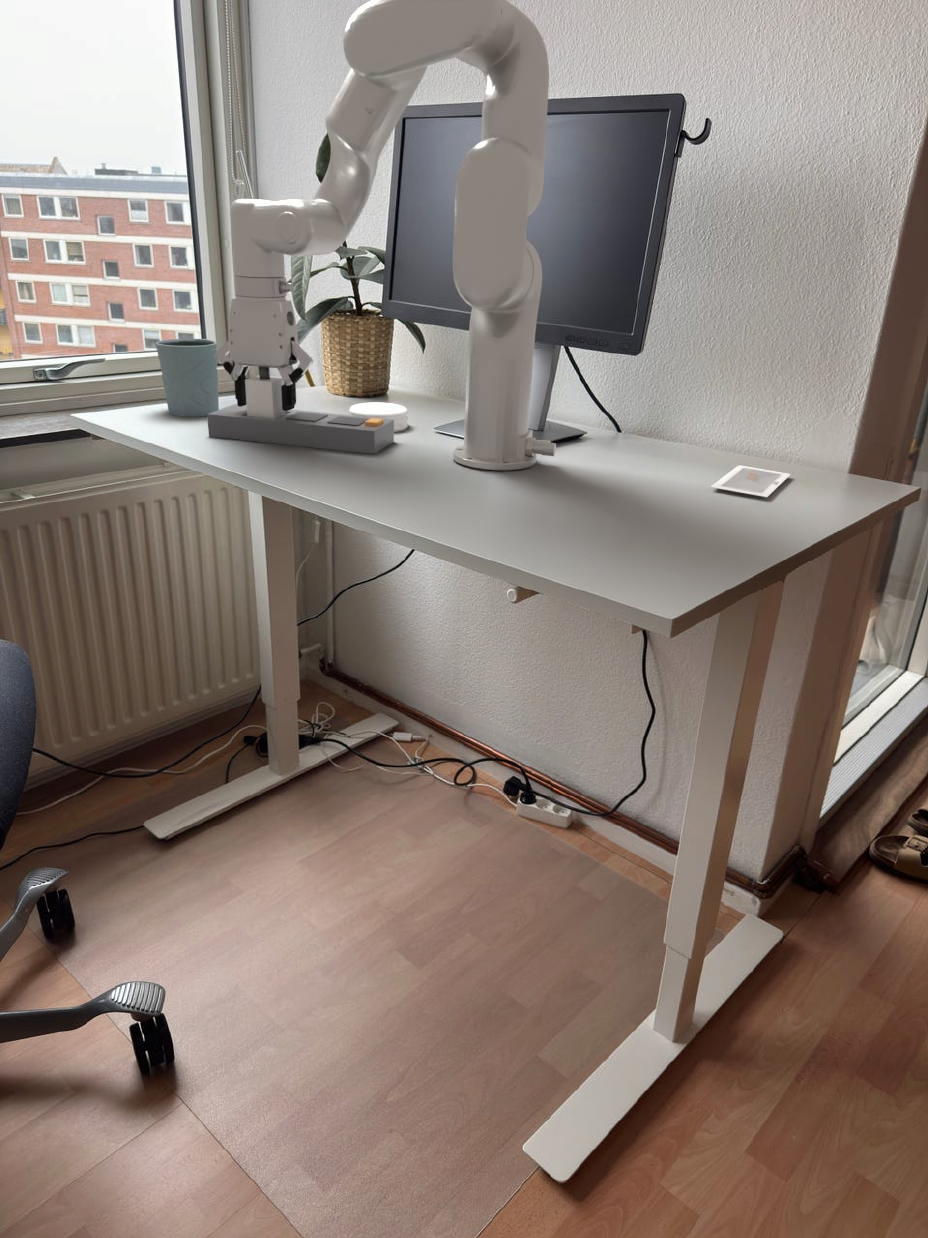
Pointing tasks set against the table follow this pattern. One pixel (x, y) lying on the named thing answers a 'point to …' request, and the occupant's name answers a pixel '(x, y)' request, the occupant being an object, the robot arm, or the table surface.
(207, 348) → the blue-grey tapered cup
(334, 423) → the power strip
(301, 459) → the table surface
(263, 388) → the charger
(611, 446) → the table surface
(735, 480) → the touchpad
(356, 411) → the coaster
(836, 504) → the table surface
